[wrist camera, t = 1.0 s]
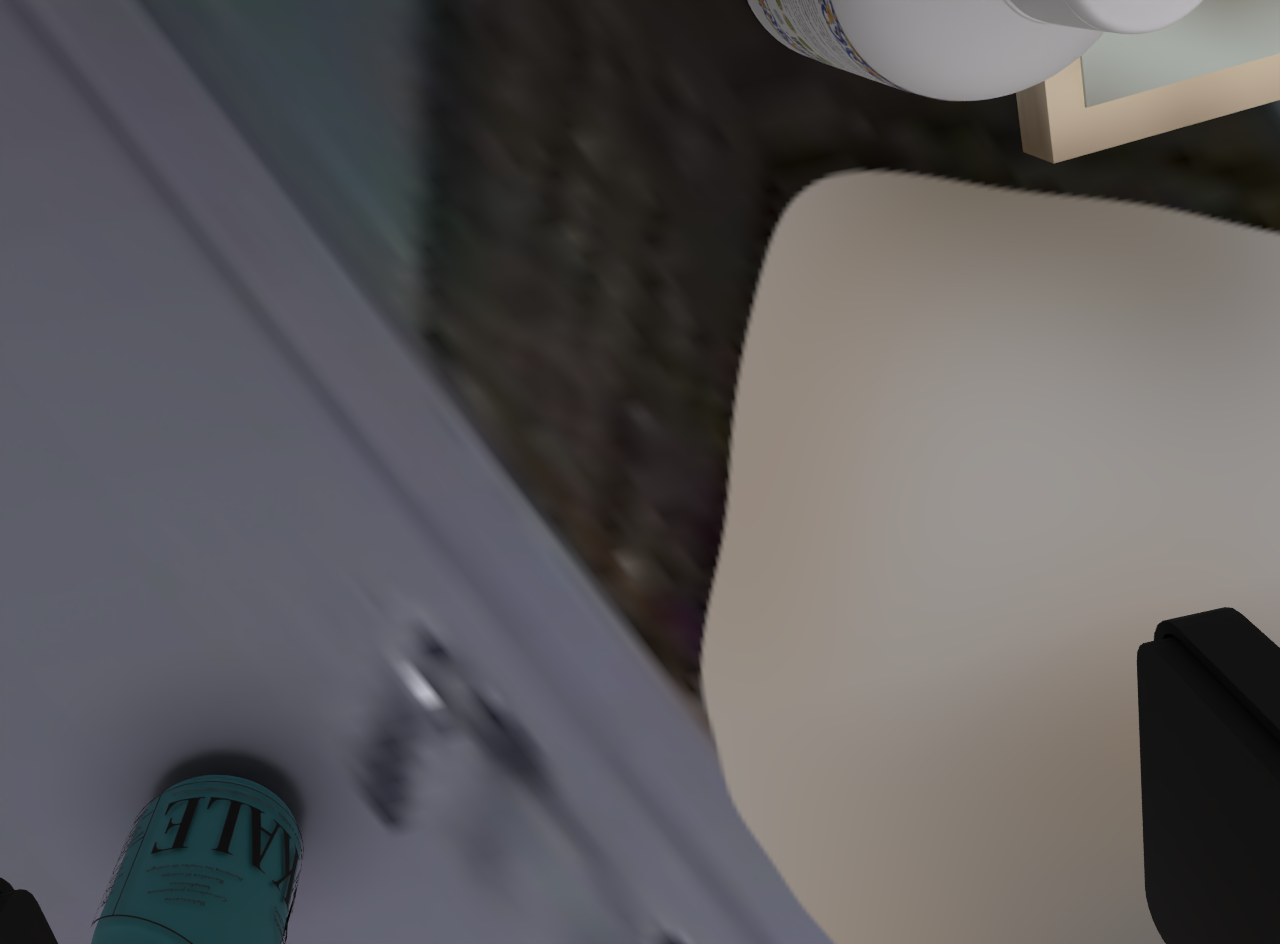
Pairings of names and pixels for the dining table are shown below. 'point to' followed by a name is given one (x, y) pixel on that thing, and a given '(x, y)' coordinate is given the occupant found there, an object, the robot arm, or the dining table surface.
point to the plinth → (1156, 81)
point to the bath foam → (958, 38)
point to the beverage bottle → (205, 868)
